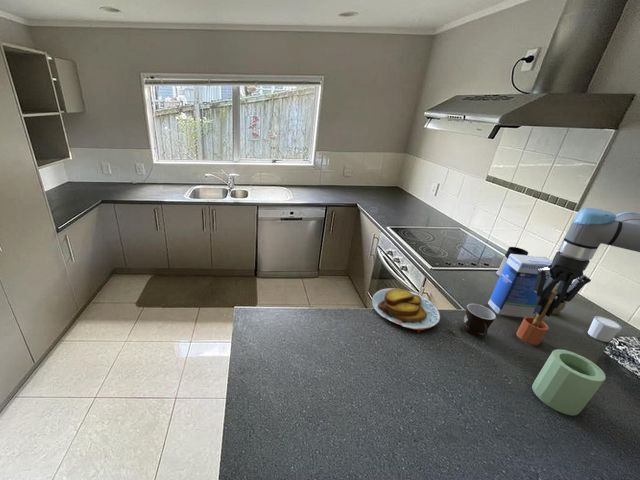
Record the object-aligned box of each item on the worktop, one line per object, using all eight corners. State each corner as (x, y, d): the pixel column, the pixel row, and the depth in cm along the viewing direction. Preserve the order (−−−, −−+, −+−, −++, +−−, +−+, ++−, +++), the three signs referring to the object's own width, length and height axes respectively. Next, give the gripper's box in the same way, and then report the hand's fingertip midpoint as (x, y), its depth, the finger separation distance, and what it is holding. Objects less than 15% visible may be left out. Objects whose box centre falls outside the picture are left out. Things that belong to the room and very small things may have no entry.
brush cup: (540, 340, 104) (550, 324, 101) (537, 349, 100) (547, 332, 97) (517, 330, 108) (526, 313, 105) (513, 338, 104) (522, 321, 101)
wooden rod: (535, 338, 104) (561, 292, 95) (533, 343, 101) (560, 296, 93) (522, 332, 106) (547, 287, 98) (520, 337, 104) (545, 290, 96)
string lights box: (520, 308, 121) (546, 256, 110) (533, 321, 114) (562, 266, 103) (486, 304, 122) (509, 252, 112) (496, 316, 116) (522, 262, 105)
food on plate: (435, 344, 101) (440, 330, 98) (364, 315, 113) (367, 302, 111) (439, 306, 120) (443, 293, 117) (378, 285, 133) (381, 274, 130)
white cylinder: (586, 336, 107) (595, 322, 104) (584, 327, 111) (593, 313, 109) (613, 346, 102) (624, 331, 100) (610, 336, 107) (620, 322, 104)
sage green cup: (581, 401, 82) (606, 367, 77) (578, 423, 76) (604, 388, 71) (535, 376, 90) (555, 343, 84) (528, 395, 84) (549, 361, 78)
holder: (511, 272, 148) (523, 247, 142) (528, 288, 135) (542, 261, 129) (492, 269, 150) (503, 245, 144) (508, 285, 137) (520, 258, 131)
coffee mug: (461, 320, 112) (469, 300, 108) (487, 332, 107) (497, 311, 103) (454, 335, 105) (462, 314, 101) (482, 349, 99) (492, 327, 95)
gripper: (595, 254, 91) (562, 312, 100) (538, 246, 96) (511, 301, 105) (612, 266, 84) (575, 326, 94) (550, 256, 89) (520, 314, 98)
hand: (541, 313), depth 99 cm, fingers closed on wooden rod, 2 cm apart
